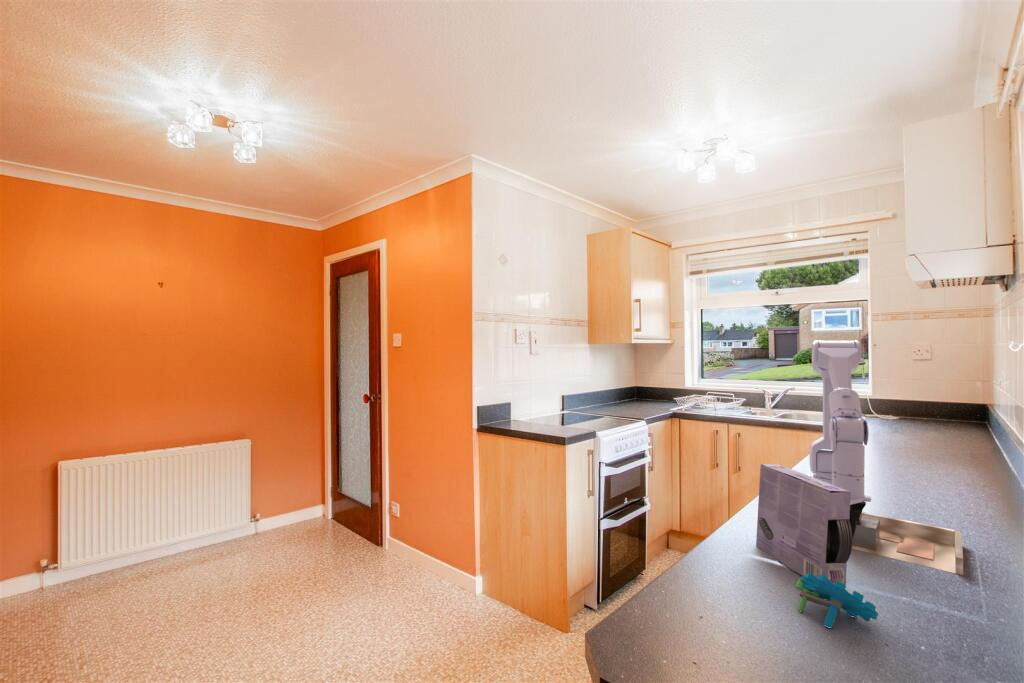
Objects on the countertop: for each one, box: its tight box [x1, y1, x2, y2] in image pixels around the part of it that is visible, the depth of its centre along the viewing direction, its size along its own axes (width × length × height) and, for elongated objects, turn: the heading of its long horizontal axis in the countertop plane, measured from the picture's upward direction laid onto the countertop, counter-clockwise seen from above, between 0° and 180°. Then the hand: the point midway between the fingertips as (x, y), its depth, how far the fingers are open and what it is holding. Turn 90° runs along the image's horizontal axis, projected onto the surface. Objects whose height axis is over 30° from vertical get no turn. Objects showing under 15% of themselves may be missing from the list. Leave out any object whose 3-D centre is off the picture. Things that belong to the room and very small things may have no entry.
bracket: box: [852, 515, 880, 551], centre depth 104 cm, size 9×8×4 cm
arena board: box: [852, 511, 964, 576], centre depth 103 cm, size 23×18×4 cm
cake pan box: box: [755, 463, 853, 586], centre depth 92 cm, size 19×5×18 cm, turn 9°
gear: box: [795, 573, 879, 627], centre depth 74 cm, size 11×6×10 cm
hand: (847, 536), depth 103 cm, fingers closed on bracket, 4 cm apart
